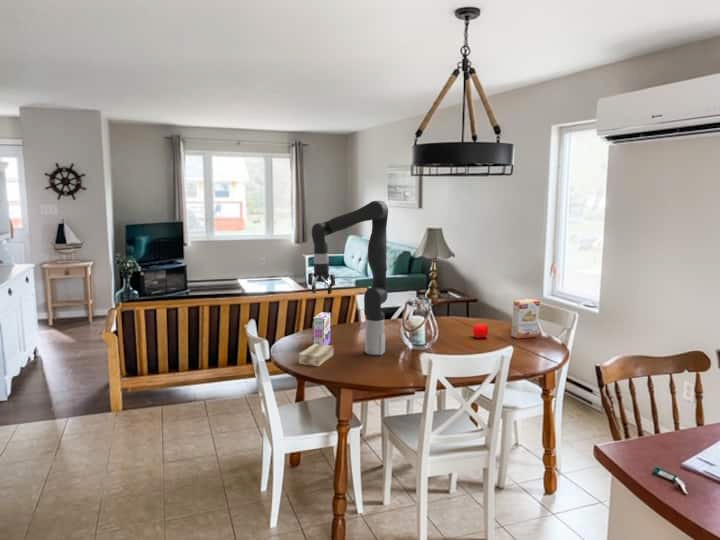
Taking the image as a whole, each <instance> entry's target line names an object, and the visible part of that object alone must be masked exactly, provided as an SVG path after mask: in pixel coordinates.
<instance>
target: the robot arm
mask: <svg viewBox="0 0 720 540" xmlns="http://www.w3.org/2000/svg"><path fill="white" fill-rule="evenodd" d="M388 216H389V208H388V205H387V203H386V202H384V201H383V200H372V201H371V202H369V203H367V204H365V205H364V206H362V207H360V208H358V209H355V210H353V211H350V212H346V213H344V214H341V215H338V216H335V217H333V218H331V219H329V220H327V221H324V222H317V223H315V224H313V226H312V227H311V237H312V242H313V244H314V245H313V253H314V255H313V272H309V273H308V275H307V276H308V278H307V284H308V286H309V285H310V286H311V292H312V294H316V291H317V290H316V287H317V286H316V285H317V283H324V284H325V285H326V286H327V295H331V294H332V292H333V291H332V290H333V289H332V288H333V287H335V285H336V275H335V273H332V274H330V273H329V272H330V268H329V266H330V264H329V263H330V262H329V260H330V259H329V245H328V242H326V236H330V235H332V234H334V233H337V232H340V231H344V230H346V229H349V228H351V227H353V226H355V225H356V224H360V223H363V222H369V221H371V233H370V237H369V240H368V245H367V262H368V265H369V268H370V271H371V273H372V287H369V288H367V289H366V291H364V295H363V296H364V297H363V307H364V309H363V310H364V315H365V341H364V342H365V344H364V345H365V347H364V348H365V350H364V351H365V354H367V355H369V356H370V355H371V356H378V355H379V356H382V355H383V354H384V353H385V352H386V333H385V312H382V304H384V303H386V302H387V300H388V284H387V282H388V281H387V255H388V254H387V252H388V250H387V248H388V247H387V239H388V238H387V224H388ZM313 277H314V279H313Z"/></svg>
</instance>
